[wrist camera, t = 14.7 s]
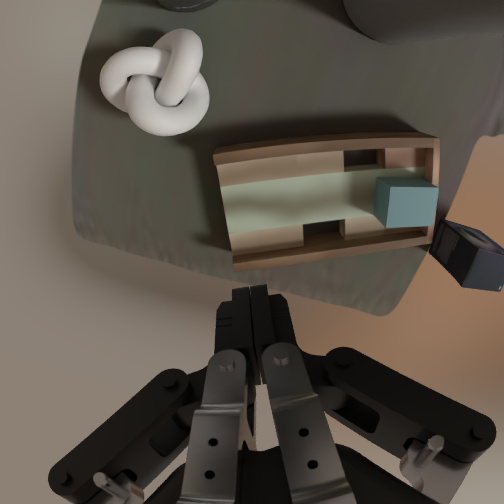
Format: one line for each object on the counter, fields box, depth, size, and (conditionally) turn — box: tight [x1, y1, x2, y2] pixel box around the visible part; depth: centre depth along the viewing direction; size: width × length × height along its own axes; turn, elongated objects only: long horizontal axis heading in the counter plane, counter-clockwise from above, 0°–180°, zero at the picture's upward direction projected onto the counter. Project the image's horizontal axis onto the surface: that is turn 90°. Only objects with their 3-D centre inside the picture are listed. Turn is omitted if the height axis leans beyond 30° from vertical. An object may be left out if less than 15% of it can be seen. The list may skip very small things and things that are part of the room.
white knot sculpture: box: [100, 28, 209, 136], centre depth 27 cm, size 11×12×9 cm
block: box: [373, 177, 439, 228], centre depth 34 cm, size 5×7×4 cm
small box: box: [429, 219, 504, 292], centre depth 38 cm, size 11×6×10 cm, turn 80°
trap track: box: [213, 132, 440, 272], centre depth 36 cm, size 14×27×5 cm, turn 98°
